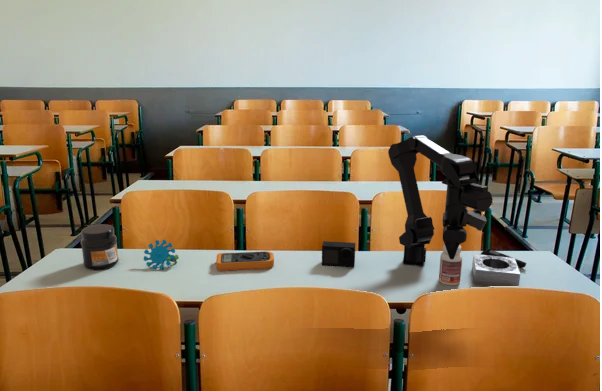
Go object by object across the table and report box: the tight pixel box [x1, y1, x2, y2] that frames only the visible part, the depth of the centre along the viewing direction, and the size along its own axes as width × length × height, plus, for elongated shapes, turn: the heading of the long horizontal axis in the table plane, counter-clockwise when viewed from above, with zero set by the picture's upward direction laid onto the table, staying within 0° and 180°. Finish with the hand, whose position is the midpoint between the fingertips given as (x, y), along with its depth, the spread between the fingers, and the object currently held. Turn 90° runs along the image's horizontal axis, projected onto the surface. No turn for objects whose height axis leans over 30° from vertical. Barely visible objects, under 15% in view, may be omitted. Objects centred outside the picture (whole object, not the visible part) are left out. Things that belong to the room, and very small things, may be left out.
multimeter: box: [215, 250, 275, 272], centre depth 163 cm, size 9×18×3 cm, turn 96°
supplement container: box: [80, 223, 119, 271], centre depth 162 cm, size 10×10×12 cm
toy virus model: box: [143, 239, 180, 271], centre depth 164 cm, size 11×6×10 cm
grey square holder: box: [471, 253, 521, 287], centre depth 153 cm, size 12×12×5 cm
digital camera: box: [321, 240, 356, 269], centre depth 163 cm, size 10×5×7 cm, turn 82°
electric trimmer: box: [480, 247, 527, 270], centre depth 166 cm, size 4×16×3 cm, turn 33°
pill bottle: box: [438, 243, 463, 286], centre depth 151 cm, size 6×6×11 cm
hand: (451, 253), depth 150 cm, fingers open, 9 cm apart
